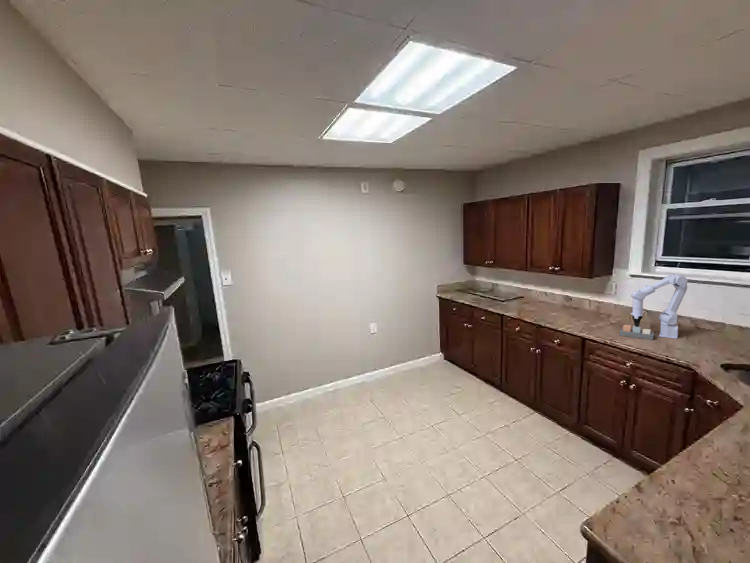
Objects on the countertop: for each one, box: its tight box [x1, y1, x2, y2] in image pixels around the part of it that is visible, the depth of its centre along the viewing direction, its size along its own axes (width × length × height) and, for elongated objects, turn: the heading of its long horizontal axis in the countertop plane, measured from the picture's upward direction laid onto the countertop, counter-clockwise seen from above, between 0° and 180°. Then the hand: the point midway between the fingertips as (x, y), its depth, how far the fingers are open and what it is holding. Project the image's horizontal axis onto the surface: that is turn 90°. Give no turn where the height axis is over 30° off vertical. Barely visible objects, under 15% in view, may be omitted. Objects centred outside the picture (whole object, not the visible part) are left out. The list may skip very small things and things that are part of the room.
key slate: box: [632, 325, 642, 333], centre depth 235 cm, size 4×4×4 cm
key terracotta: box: [622, 324, 632, 332], centre depth 239 cm, size 4×4×4 cm
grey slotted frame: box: [619, 327, 655, 341], centre depth 236 cm, size 19×9×3 cm, turn 47°
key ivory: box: [642, 328, 652, 334], centre depth 232 cm, size 4×4×4 cm
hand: (636, 326), depth 235 cm, fingers closed
